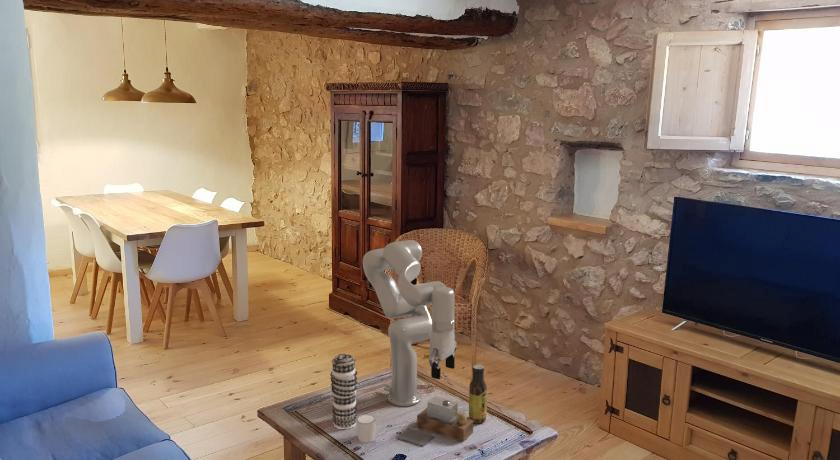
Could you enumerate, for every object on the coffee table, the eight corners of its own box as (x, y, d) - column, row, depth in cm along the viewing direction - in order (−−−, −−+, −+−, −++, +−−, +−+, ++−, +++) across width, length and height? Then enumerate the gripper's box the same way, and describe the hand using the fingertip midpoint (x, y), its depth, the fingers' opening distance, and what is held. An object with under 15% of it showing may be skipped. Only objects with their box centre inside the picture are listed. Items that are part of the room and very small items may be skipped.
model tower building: (344, 414, 227) (342, 349, 221) (363, 421, 221) (362, 355, 216) (326, 425, 219) (323, 357, 214) (346, 433, 214) (344, 364, 209)
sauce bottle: (485, 425, 219) (486, 371, 215) (467, 423, 220) (468, 370, 216) (487, 416, 225) (488, 364, 221) (469, 414, 226) (470, 362, 222)
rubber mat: (397, 438, 211) (397, 437, 210) (408, 429, 216) (408, 427, 216) (422, 446, 205) (422, 445, 205) (433, 437, 211) (433, 435, 211)
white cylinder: (368, 445, 206) (368, 426, 205) (351, 439, 210) (351, 420, 208) (380, 436, 212) (380, 417, 211) (364, 430, 216) (364, 411, 214)
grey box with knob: (427, 415, 216) (427, 400, 214) (434, 409, 220) (434, 394, 219) (450, 422, 211) (450, 407, 210) (457, 416, 215) (457, 401, 214)
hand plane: (417, 427, 217) (417, 407, 216) (427, 418, 223) (427, 399, 222) (463, 441, 208) (463, 420, 207) (473, 432, 214) (473, 412, 213)
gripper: (445, 315, 218) (445, 361, 221) (419, 330, 203) (420, 380, 207) (465, 318, 214) (464, 366, 217) (440, 334, 199) (440, 385, 203)
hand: (443, 373), depth 212 cm, fingers open, 9 cm apart
